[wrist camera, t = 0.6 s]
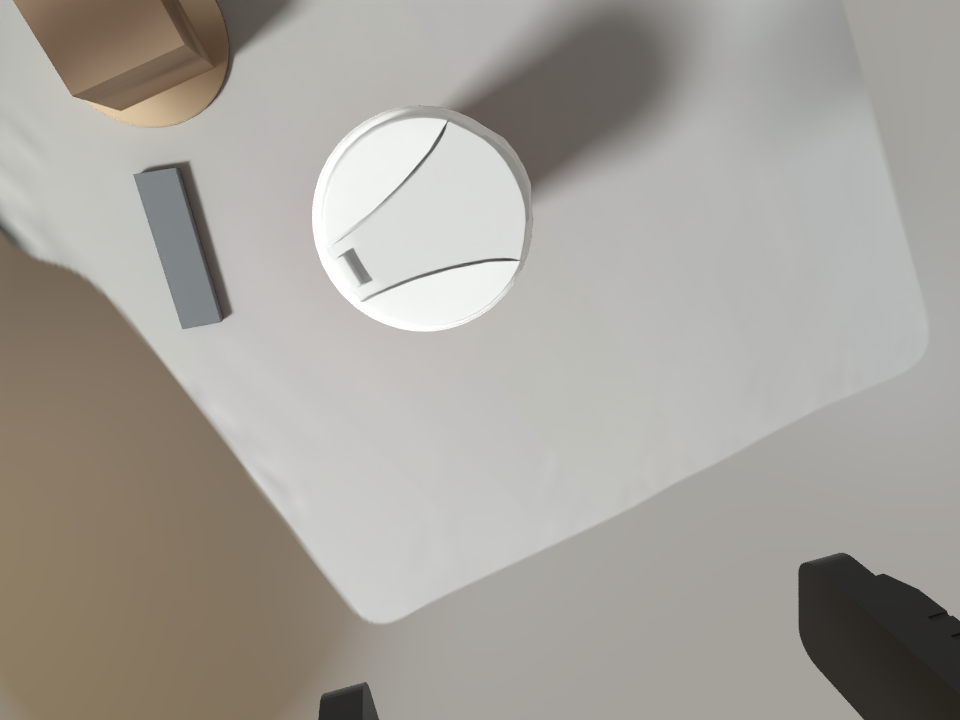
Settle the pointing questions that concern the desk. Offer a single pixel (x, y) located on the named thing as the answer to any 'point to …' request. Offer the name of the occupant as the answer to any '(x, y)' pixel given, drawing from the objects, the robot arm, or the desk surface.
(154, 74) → the walnut block
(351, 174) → the paper cup
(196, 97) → the cork coaster
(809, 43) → the desk surface
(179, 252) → the slate strip
